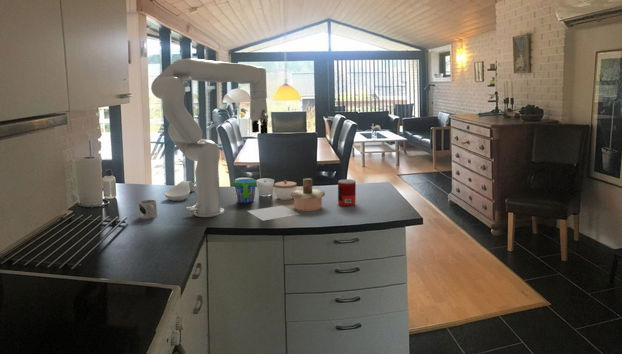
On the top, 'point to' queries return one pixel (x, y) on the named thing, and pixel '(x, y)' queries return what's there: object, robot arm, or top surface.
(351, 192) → the canned food
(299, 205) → the bowl
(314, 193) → the lid
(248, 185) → the snack cup
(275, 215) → the mat
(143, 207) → the mug
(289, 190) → the lidded jar
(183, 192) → the spoon rest
